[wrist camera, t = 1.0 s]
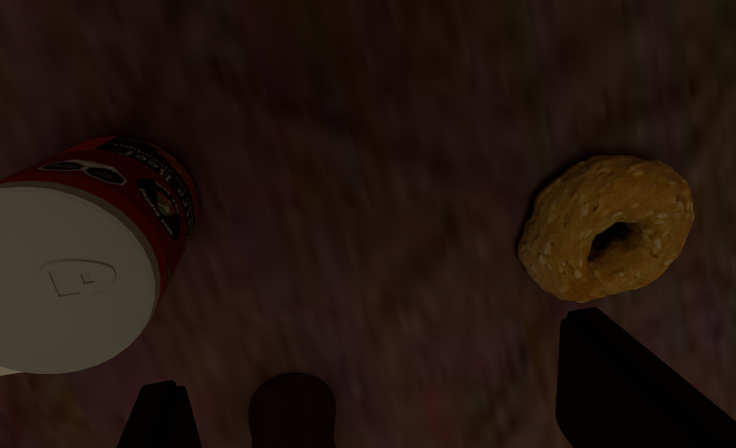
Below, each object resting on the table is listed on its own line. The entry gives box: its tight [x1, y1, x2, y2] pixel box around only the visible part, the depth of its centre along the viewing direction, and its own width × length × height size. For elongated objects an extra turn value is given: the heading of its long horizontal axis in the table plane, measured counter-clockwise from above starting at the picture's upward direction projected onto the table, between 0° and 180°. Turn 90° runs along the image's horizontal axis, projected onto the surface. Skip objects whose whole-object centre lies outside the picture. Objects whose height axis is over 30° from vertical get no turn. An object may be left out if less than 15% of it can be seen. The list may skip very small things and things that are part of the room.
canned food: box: [0, 136, 199, 374], centre depth 23 cm, size 8×8×11 cm
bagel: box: [518, 155, 694, 303], centre depth 31 cm, size 10×11×5 cm
